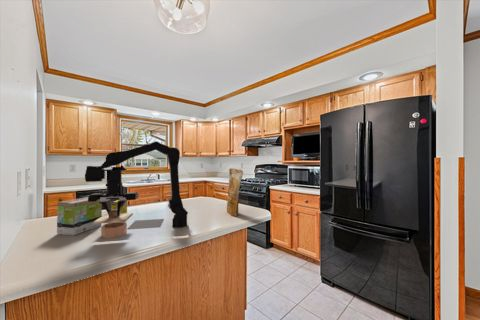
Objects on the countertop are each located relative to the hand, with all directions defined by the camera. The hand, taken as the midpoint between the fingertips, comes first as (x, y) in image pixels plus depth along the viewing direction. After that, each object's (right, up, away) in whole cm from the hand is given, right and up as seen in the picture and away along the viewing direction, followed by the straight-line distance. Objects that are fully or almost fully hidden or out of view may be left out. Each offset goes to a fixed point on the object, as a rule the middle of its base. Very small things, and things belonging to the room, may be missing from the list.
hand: (114, 216), depth 95 cm
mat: (+8, -9, +15) cm, 19 cm away
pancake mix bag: (+52, -9, +40) cm, 66 cm away
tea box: (-21, -9, +9) cm, 25 cm away
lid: (0, -1, 0) cm, 1 cm away
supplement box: (-11, -9, +24) cm, 28 cm away
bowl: (0, -9, 0) cm, 9 cm away
